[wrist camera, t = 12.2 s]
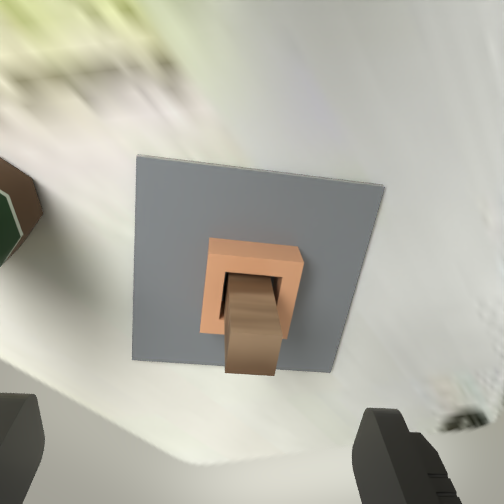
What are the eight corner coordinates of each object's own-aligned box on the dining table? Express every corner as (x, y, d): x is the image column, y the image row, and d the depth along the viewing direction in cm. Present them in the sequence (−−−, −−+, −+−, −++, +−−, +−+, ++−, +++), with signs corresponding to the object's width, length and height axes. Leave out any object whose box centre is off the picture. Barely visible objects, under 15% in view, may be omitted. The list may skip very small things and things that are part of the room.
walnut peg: (228, 261, 36) (230, 332, 27) (267, 265, 37) (282, 336, 28) (223, 295, 38) (224, 373, 29) (261, 298, 38) (274, 375, 29)
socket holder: (137, 154, 32) (128, 166, 29) (382, 184, 35) (398, 198, 32) (133, 355, 41) (125, 382, 38) (329, 368, 44) (337, 394, 40)
